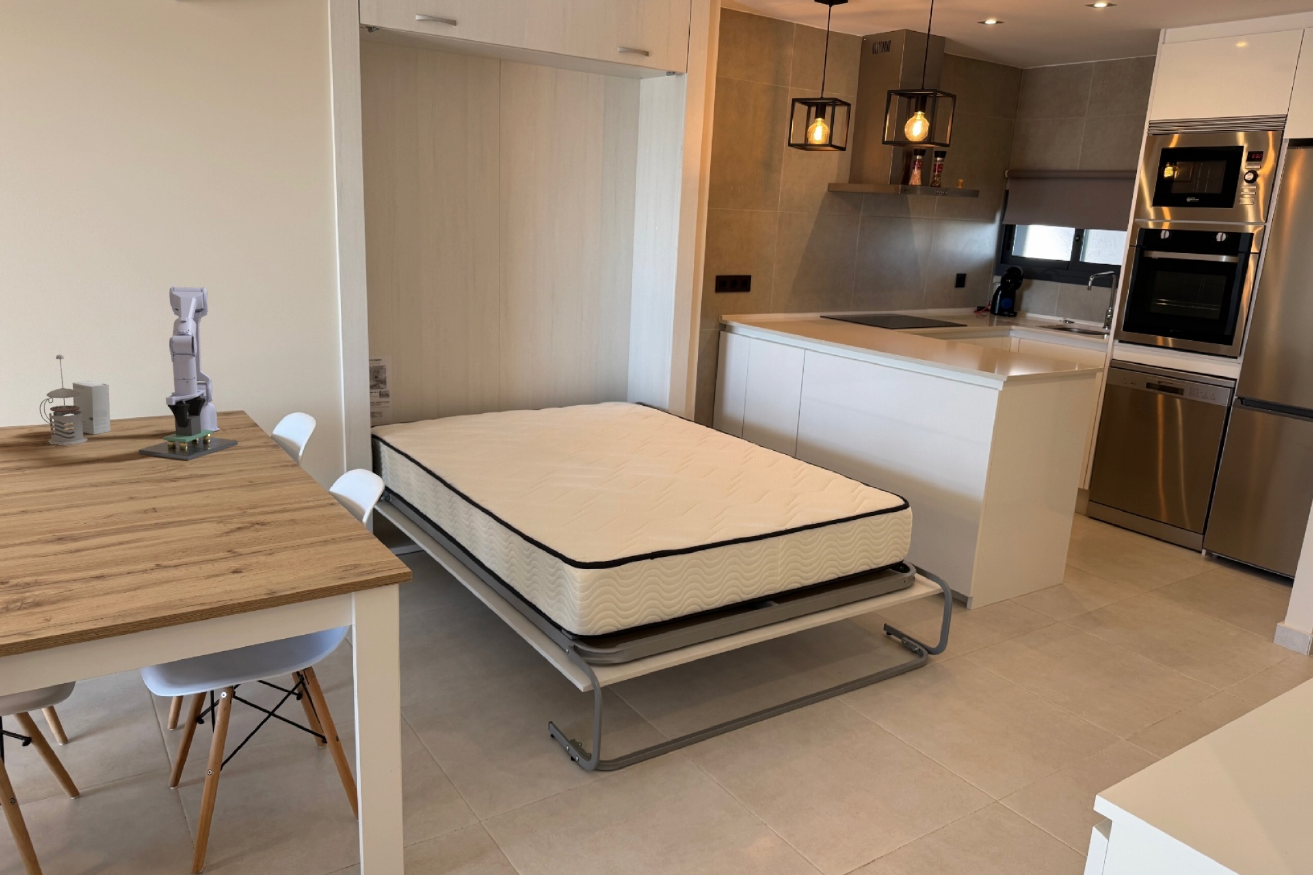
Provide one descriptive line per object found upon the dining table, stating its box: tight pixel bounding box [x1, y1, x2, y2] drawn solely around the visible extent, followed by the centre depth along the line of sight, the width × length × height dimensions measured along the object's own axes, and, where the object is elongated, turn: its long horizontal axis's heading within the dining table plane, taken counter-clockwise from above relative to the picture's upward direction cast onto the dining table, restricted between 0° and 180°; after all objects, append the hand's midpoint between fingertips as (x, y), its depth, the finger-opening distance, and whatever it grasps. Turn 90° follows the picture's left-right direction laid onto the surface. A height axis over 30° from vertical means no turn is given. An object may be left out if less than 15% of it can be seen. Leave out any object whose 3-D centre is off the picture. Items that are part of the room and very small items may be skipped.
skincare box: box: [72, 380, 111, 435], centre depth 268 cm, size 8×6×15 cm
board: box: [162, 415, 214, 442], centre depth 256 cm, size 12×7×6 cm, turn 171°
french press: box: [39, 354, 89, 446], centre depth 255 cm, size 10×12×25 cm
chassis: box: [138, 434, 239, 461], centre depth 257 cm, size 20×16×4 cm
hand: (188, 425), depth 255 cm, fingers open, 5 cm apart
